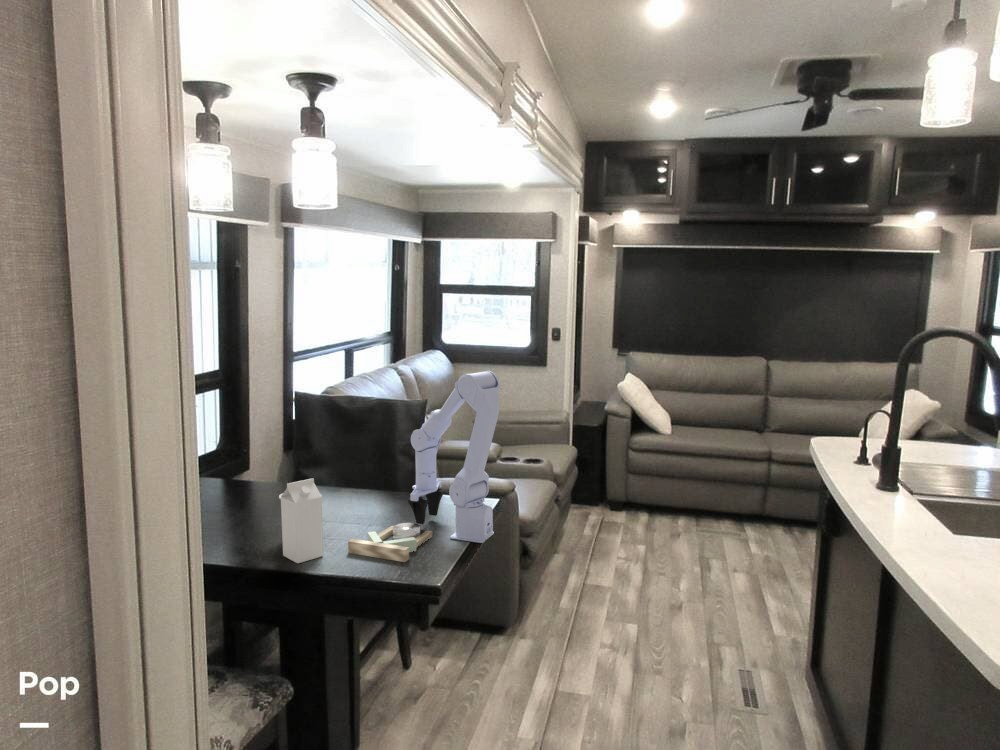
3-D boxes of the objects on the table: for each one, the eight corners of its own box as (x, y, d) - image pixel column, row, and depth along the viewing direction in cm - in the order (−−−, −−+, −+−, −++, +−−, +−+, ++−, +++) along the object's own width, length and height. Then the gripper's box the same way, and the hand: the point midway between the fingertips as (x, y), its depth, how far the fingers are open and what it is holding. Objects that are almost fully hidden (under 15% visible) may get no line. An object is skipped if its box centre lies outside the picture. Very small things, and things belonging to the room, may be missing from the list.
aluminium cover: (424, 535, 188) (424, 524, 188) (411, 544, 182) (411, 533, 182) (401, 532, 191) (401, 521, 191) (388, 540, 184) (388, 529, 184)
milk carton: (282, 556, 173) (279, 480, 171) (309, 548, 178) (306, 475, 176) (297, 564, 168) (294, 486, 166) (323, 556, 173) (321, 481, 171)
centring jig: (438, 537, 186) (438, 526, 186) (405, 562, 170) (404, 550, 169) (386, 529, 192) (385, 519, 192) (348, 552, 176) (348, 541, 175)
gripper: (425, 464, 203) (426, 509, 205) (400, 476, 190) (401, 525, 192) (447, 466, 201) (448, 512, 202) (423, 479, 187) (424, 528, 189)
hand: (426, 519), depth 197 cm, fingers open, 7 cm apart
